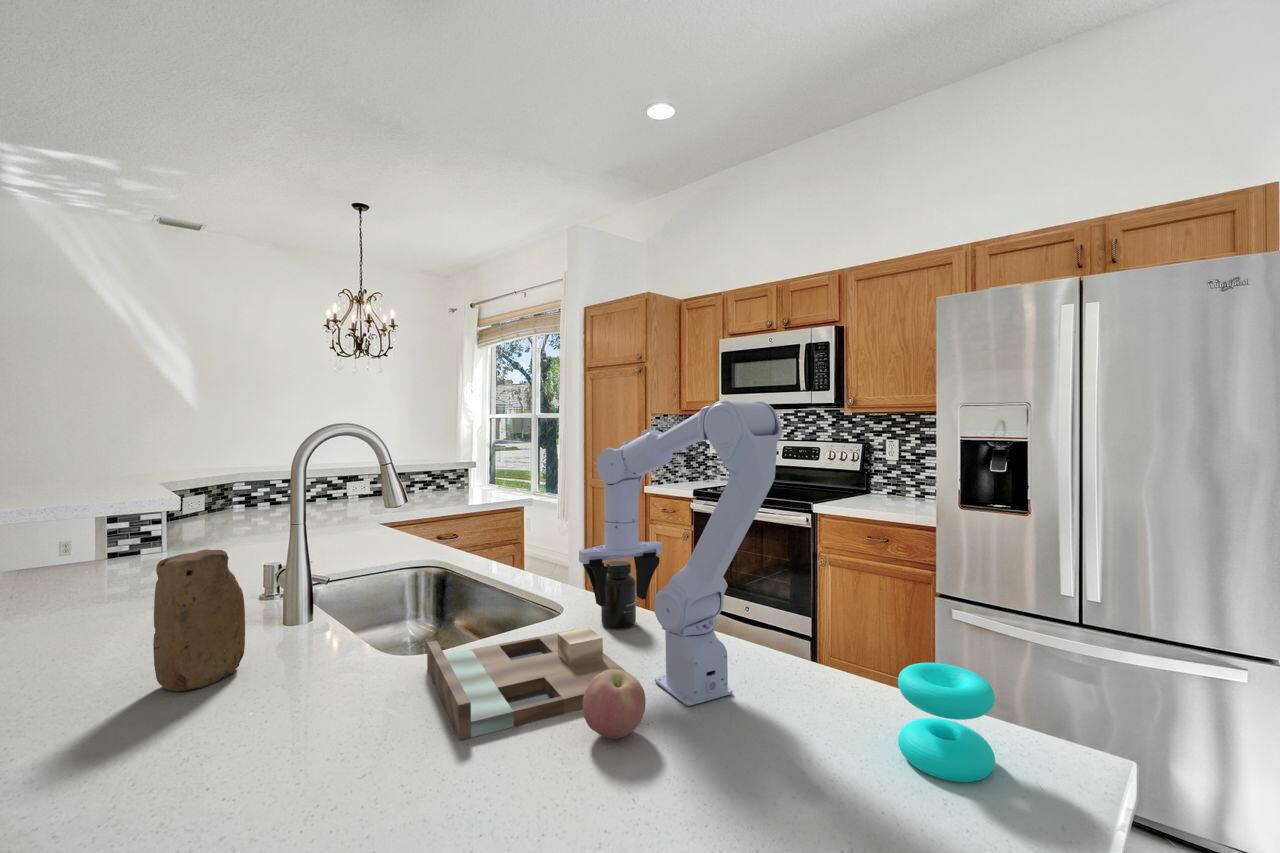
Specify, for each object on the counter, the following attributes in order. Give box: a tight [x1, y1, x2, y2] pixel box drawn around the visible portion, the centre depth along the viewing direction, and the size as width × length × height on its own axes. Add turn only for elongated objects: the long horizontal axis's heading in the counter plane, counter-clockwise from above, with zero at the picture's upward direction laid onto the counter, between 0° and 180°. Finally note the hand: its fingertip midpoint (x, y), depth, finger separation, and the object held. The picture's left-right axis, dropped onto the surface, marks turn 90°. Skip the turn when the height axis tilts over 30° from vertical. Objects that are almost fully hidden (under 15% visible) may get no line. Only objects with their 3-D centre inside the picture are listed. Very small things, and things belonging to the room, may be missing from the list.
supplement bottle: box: [600, 560, 637, 630], centre depth 117 cm, size 7×7×12 cm
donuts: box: [897, 662, 996, 783], centre depth 69 cm, size 10×10×10 cm
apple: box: [582, 669, 646, 740], centre depth 76 cm, size 8×8×8 cm
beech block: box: [557, 627, 604, 667], centre depth 96 cm, size 6×6×4 cm
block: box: [152, 549, 246, 692], centre depth 94 cm, size 11×8×20 cm
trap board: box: [426, 629, 626, 742], centre depth 92 cm, size 24×26×4 cm
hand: (621, 601), depth 100 cm, fingers open, 7 cm apart
